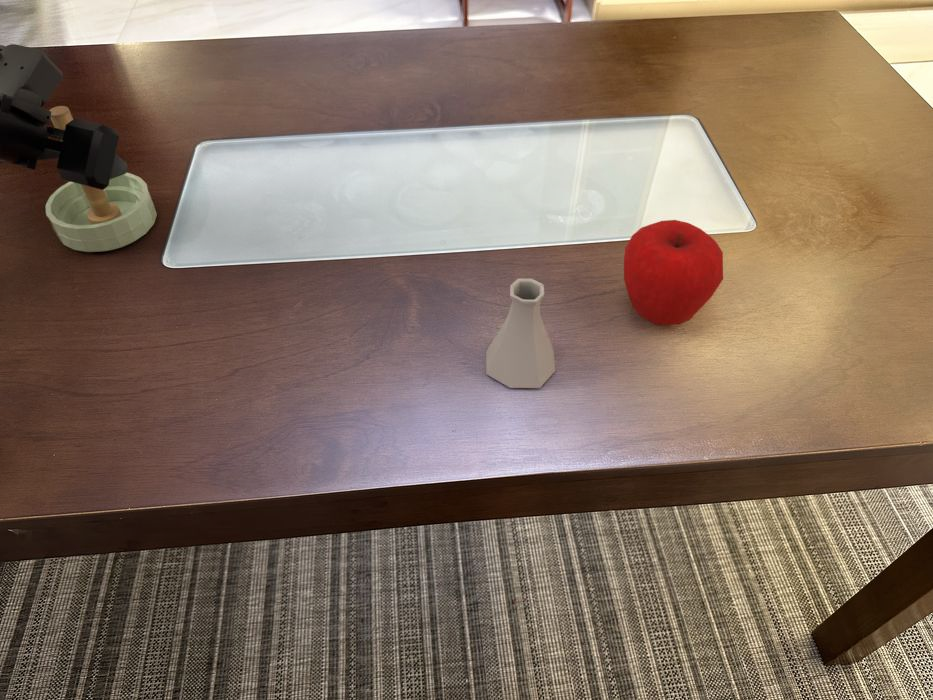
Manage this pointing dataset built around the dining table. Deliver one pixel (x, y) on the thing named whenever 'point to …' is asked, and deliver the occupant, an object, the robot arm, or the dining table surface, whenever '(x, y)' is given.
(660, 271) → the apple
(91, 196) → the tan wooden rod
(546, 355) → the flask
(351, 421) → the dining table surface
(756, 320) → the dining table surface
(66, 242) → the bowl
